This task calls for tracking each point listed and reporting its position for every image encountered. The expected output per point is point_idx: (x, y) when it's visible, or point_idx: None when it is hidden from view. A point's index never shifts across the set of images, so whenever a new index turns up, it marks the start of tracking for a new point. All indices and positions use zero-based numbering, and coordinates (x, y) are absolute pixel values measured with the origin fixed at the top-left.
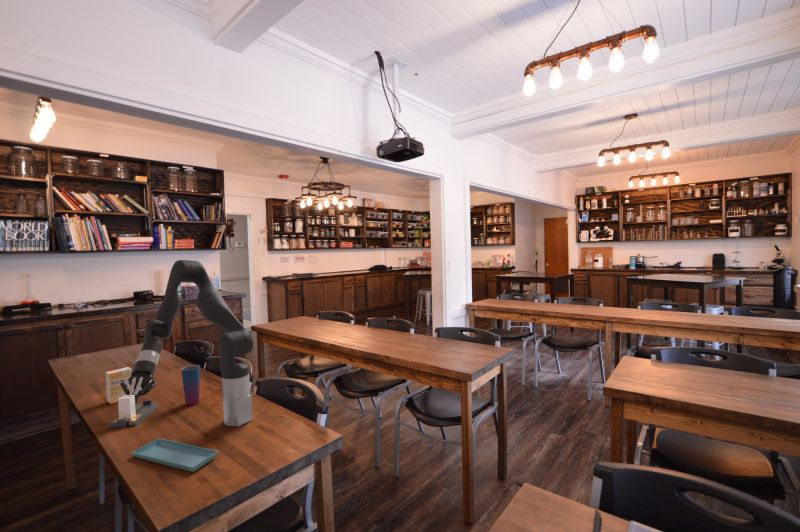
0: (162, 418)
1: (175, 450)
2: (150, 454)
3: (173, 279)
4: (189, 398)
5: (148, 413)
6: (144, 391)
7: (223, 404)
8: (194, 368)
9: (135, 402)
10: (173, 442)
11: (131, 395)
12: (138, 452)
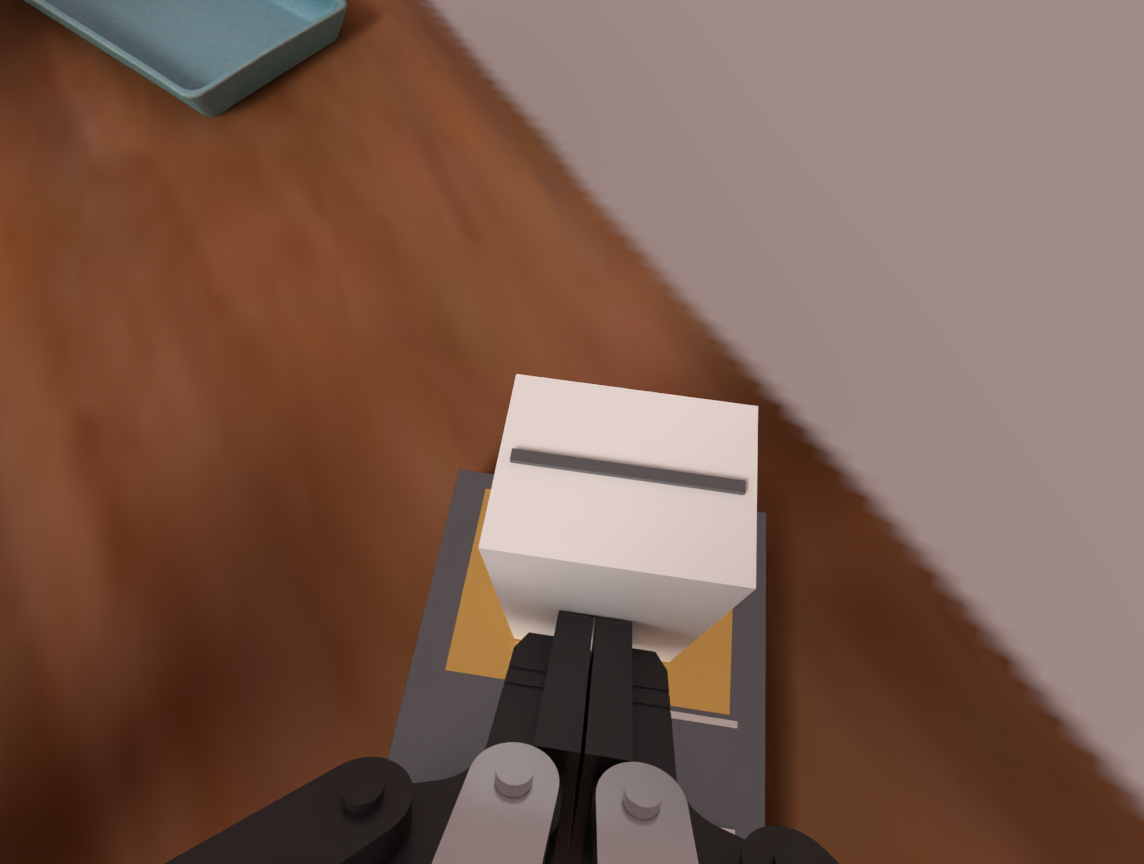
0: (205, 599)
1: (104, 24)
2: (250, 29)
3: None
4: None
5: None
6: (290, 817)
7: None
8: None
9: (511, 667)
10: (92, 31)
11: (536, 522)
12: (318, 36)
